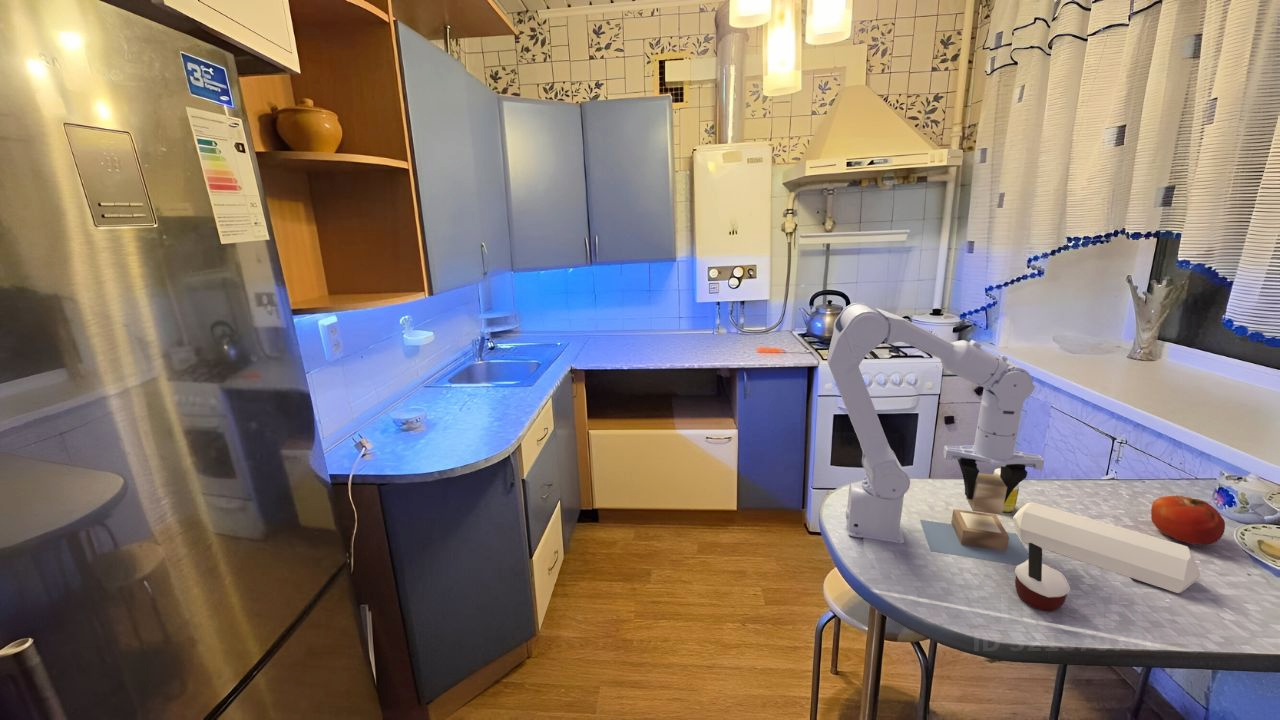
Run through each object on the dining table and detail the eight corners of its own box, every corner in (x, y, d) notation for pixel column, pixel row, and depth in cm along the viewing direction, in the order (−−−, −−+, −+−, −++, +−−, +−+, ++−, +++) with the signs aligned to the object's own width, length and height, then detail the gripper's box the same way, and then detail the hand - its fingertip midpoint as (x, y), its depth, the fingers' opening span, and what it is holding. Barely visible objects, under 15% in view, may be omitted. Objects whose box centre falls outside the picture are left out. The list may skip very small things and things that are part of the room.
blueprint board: (930, 553, 88) (930, 550, 88) (919, 521, 98) (919, 519, 97) (1037, 570, 83) (1038, 568, 83) (1015, 535, 92) (1016, 533, 92)
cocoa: (1043, 587, 80) (1058, 521, 77) (1081, 616, 74) (1099, 545, 71) (990, 592, 79) (1003, 524, 76) (1023, 621, 73) (1039, 549, 70)
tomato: (1140, 516, 97) (1150, 480, 95) (1208, 531, 92) (1220, 493, 90) (1152, 542, 90) (1163, 503, 87) (1227, 559, 85) (1241, 519, 82)
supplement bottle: (1018, 517, 98) (1026, 479, 96) (992, 515, 99) (999, 477, 97) (1006, 504, 102) (1013, 467, 100) (981, 502, 103) (987, 466, 101)
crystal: (1199, 552, 81) (1018, 500, 97) (1209, 552, 76) (1016, 497, 92) (1190, 597, 80) (1009, 537, 96) (1200, 600, 75) (1007, 536, 91)
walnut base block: (960, 544, 90) (963, 529, 89) (951, 522, 96) (953, 508, 95) (1006, 551, 88) (1009, 536, 87) (993, 528, 94) (996, 514, 93)
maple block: (972, 511, 89) (977, 483, 87) (966, 498, 93) (970, 471, 91) (1001, 515, 87) (1007, 487, 86) (993, 501, 91) (998, 475, 90)
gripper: (954, 434, 85) (943, 504, 88) (1057, 443, 80) (1041, 517, 84) (944, 418, 91) (935, 484, 95) (1039, 426, 86) (1025, 495, 90)
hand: (984, 498), depth 90 cm, fingers closed on maple block, 4 cm apart
